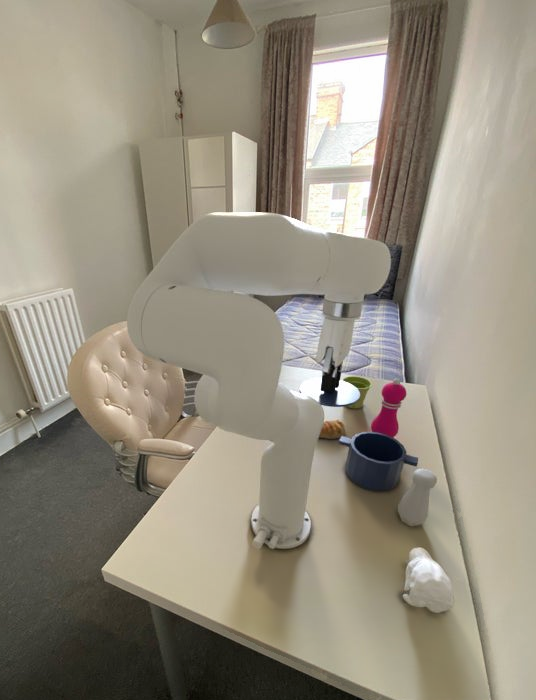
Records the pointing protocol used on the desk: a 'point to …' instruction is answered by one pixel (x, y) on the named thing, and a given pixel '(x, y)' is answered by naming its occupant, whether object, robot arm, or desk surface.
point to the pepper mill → (389, 409)
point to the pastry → (332, 430)
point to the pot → (375, 460)
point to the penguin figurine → (427, 583)
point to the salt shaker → (417, 498)
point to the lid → (340, 398)
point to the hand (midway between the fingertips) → (329, 388)
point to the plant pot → (359, 388)
